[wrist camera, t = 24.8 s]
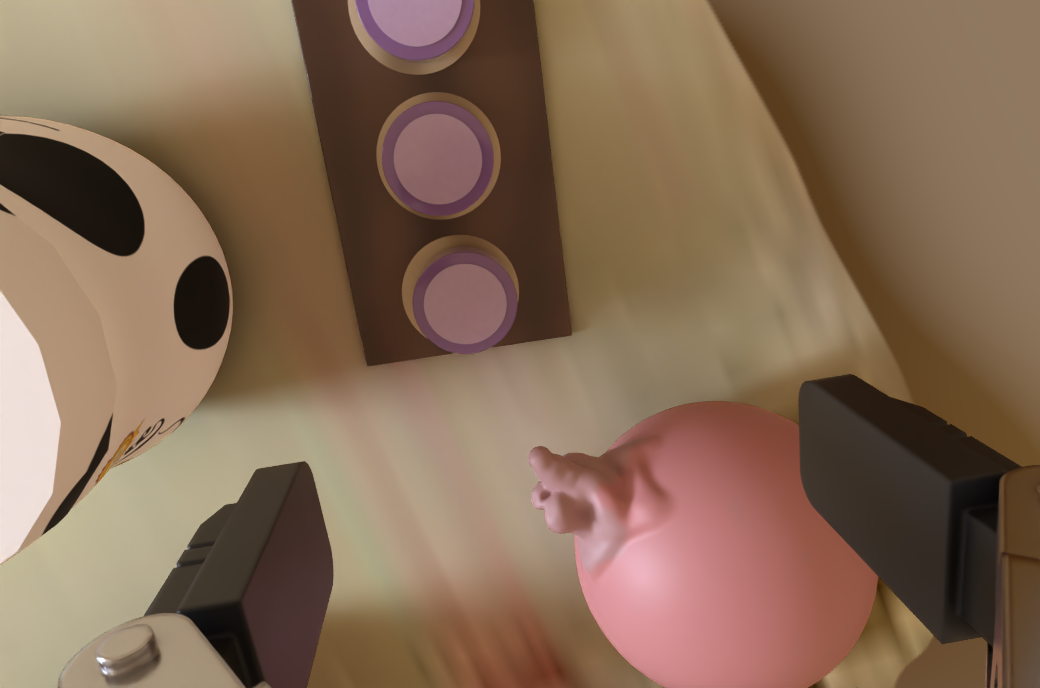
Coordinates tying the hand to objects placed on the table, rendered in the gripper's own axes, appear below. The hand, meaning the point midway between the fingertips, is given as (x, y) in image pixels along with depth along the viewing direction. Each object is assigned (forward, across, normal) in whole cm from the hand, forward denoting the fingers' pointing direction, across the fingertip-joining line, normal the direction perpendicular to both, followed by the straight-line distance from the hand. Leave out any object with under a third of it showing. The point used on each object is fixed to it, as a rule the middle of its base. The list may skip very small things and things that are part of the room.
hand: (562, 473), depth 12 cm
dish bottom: (+30, +2, -4) cm, 30 cm away
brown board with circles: (+30, +2, -4) cm, 30 cm away
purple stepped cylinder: (+30, +2, -12) cm, 32 cm away
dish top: (+30, +2, +4) cm, 30 cm away
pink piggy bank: (+30, -8, +16) cm, 35 cm away
